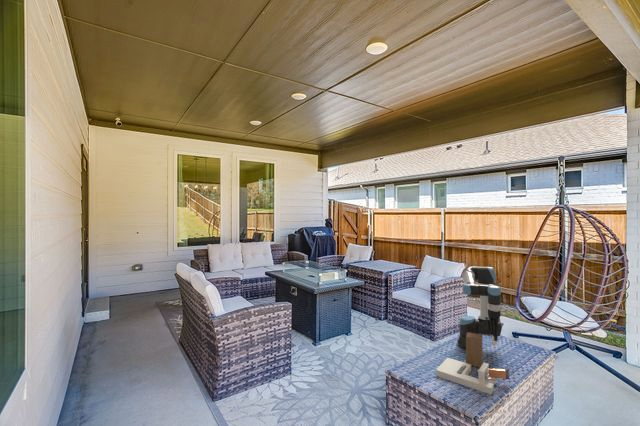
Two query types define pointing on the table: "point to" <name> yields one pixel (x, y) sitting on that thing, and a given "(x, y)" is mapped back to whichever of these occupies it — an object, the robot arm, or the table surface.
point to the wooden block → (474, 349)
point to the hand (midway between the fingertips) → (494, 344)
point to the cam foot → (495, 375)
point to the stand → (465, 375)
